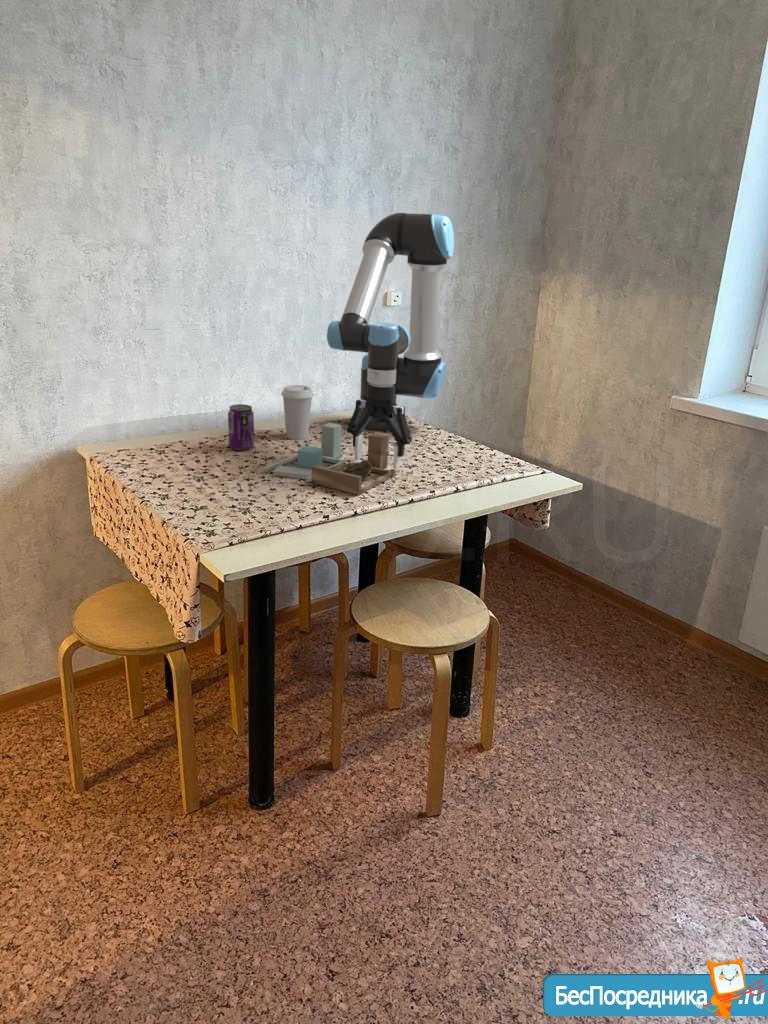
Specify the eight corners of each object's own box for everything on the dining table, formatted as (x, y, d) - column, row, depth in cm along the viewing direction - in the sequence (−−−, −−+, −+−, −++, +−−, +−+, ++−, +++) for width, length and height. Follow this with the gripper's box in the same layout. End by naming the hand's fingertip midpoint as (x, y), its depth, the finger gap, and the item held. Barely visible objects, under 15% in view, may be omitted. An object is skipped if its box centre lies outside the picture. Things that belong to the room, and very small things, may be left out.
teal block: (305, 463, 212) (305, 445, 210) (322, 465, 210) (322, 448, 208) (297, 468, 207) (297, 450, 205) (314, 471, 206) (314, 453, 204)
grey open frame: (314, 450, 222) (314, 419, 218) (356, 459, 216) (357, 428, 212) (264, 471, 203) (263, 438, 199) (308, 482, 196) (308, 448, 193)
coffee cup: (297, 443, 228) (298, 393, 222) (274, 436, 233) (274, 387, 228) (319, 436, 235) (320, 388, 229) (296, 430, 240) (296, 382, 235)
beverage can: (251, 452, 218) (251, 410, 213) (226, 450, 218) (225, 409, 213) (256, 444, 224) (255, 404, 220) (231, 443, 224) (230, 403, 220)
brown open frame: (359, 460, 215) (360, 428, 212) (403, 469, 209) (405, 438, 206) (311, 483, 196) (312, 449, 193) (358, 494, 190) (360, 459, 187)
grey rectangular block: (279, 469, 205) (279, 465, 204) (315, 474, 203) (315, 470, 202) (273, 475, 201) (273, 470, 200) (309, 479, 199) (309, 475, 198)
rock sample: (354, 456, 207) (358, 443, 198) (371, 478, 205) (376, 466, 197) (323, 476, 203) (326, 464, 195) (340, 499, 202) (344, 487, 194)
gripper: (335, 379, 204) (333, 458, 212) (415, 393, 194) (409, 475, 202) (350, 375, 210) (347, 451, 218) (428, 388, 200) (422, 468, 208)
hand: (377, 463), depth 210 cm, fingers open, 11 cm apart
